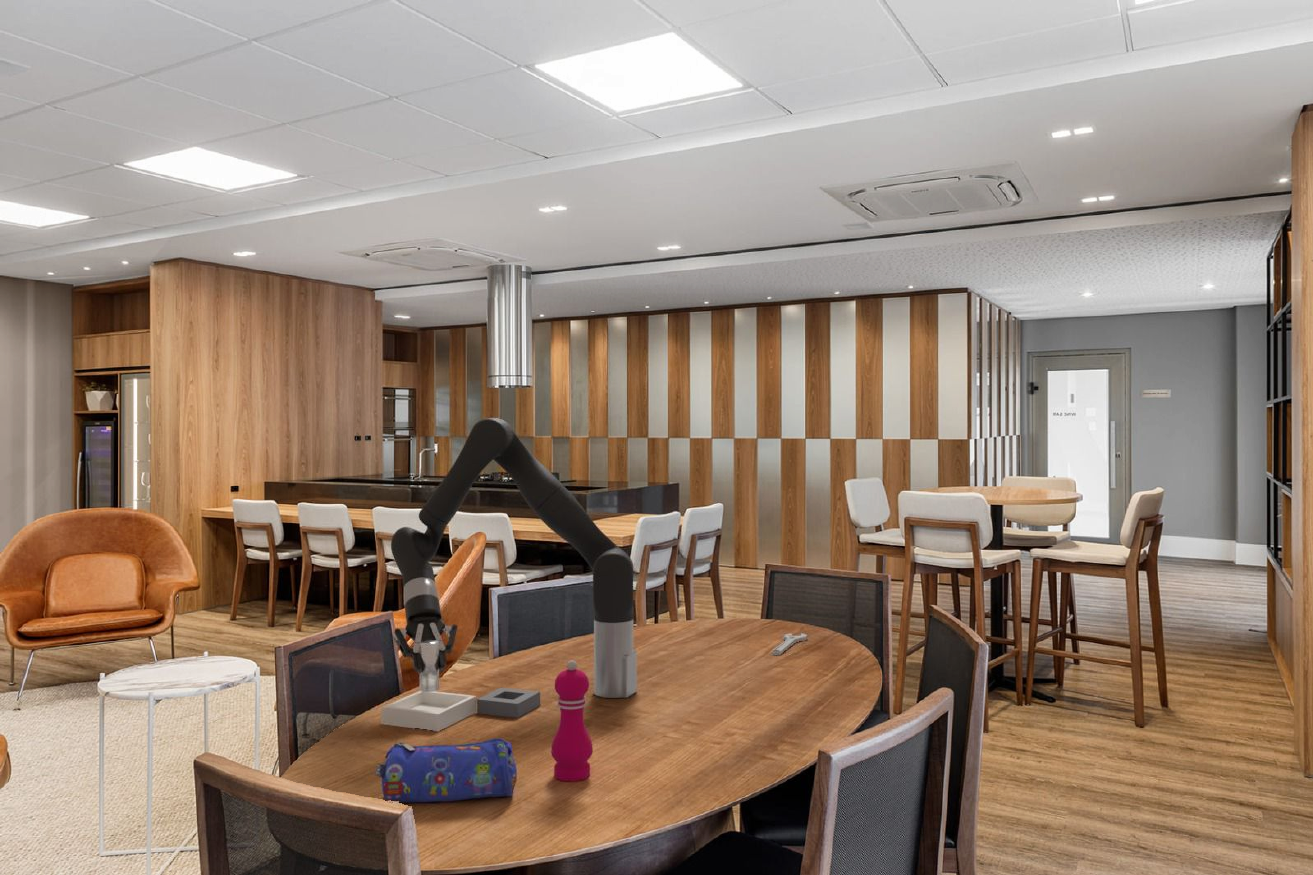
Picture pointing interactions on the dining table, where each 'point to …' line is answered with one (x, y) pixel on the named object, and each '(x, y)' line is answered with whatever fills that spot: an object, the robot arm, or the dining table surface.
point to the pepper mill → (571, 726)
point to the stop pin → (429, 666)
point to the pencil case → (448, 771)
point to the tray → (429, 710)
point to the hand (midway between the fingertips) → (431, 670)
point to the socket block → (508, 702)
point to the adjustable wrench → (788, 643)
